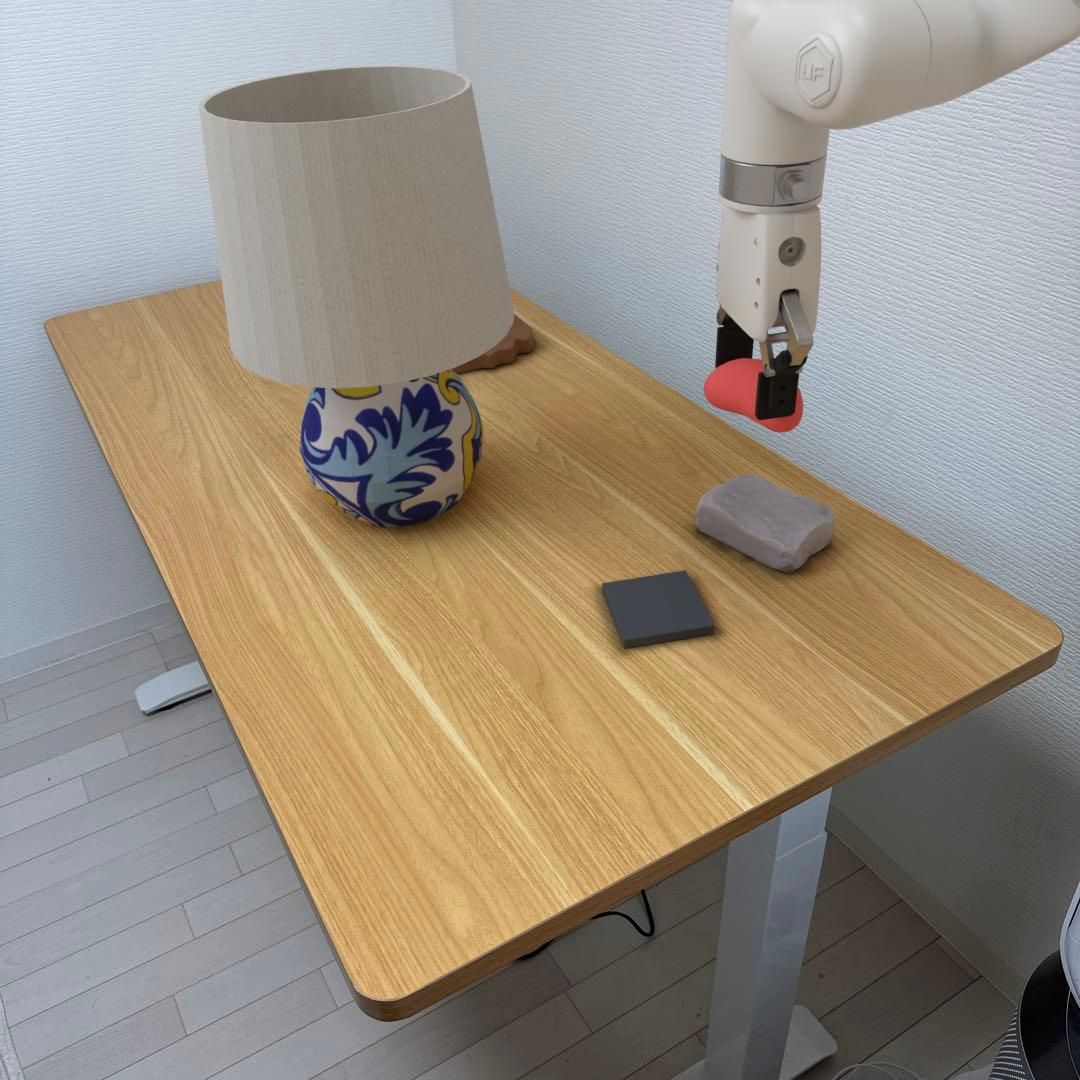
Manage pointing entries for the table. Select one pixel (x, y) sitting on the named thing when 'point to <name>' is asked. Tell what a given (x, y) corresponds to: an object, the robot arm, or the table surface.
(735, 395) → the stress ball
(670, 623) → the felt pad
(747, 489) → the stone block
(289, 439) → the table surface
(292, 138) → the table lamp
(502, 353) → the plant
